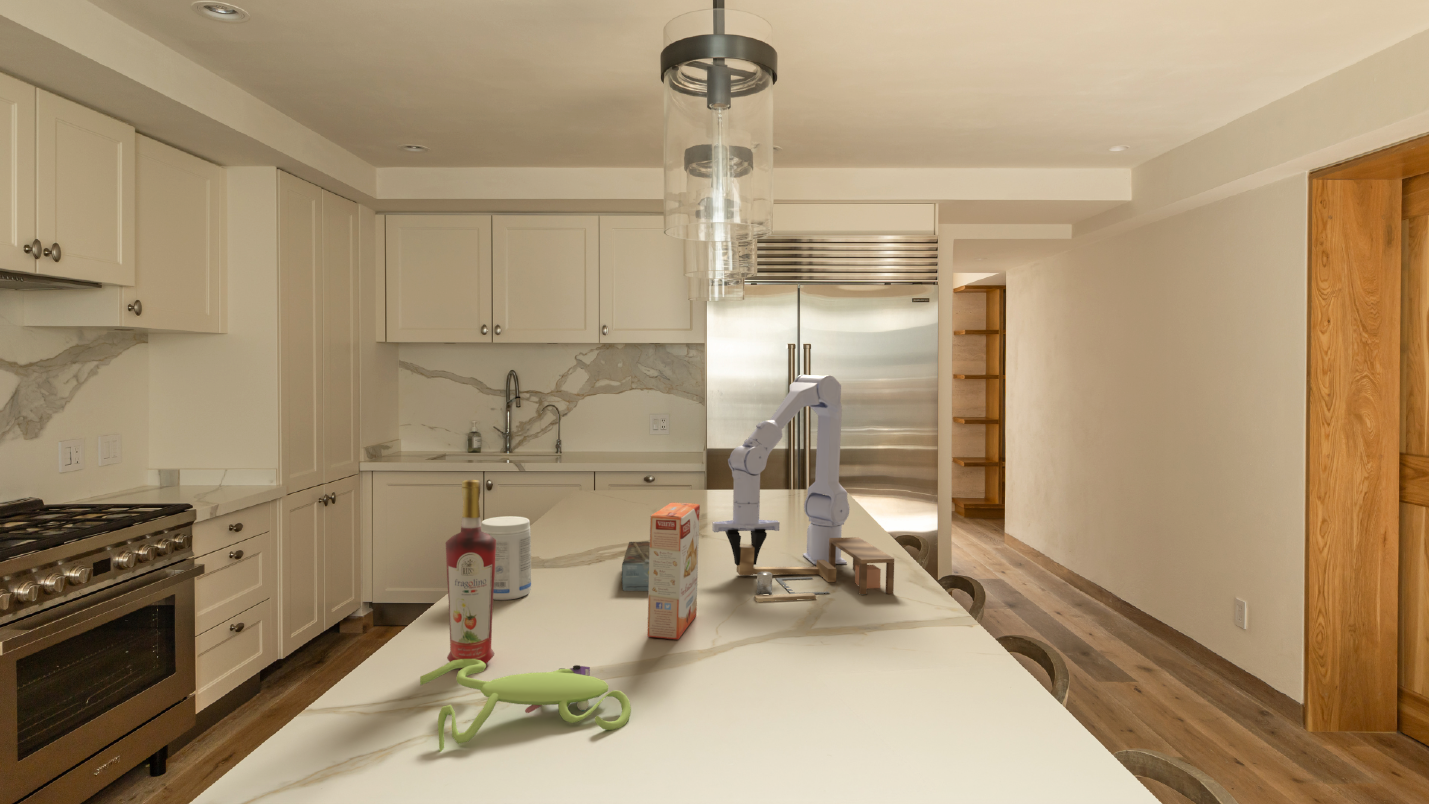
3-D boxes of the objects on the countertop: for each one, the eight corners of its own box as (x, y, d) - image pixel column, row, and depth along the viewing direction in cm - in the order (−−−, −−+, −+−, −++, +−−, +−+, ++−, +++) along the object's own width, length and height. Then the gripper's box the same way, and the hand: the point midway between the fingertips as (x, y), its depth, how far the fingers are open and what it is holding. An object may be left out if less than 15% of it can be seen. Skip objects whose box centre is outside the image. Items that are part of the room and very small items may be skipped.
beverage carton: (620, 592, 165) (620, 559, 164) (627, 568, 184) (628, 539, 183) (659, 592, 165) (660, 560, 164) (663, 568, 184) (663, 539, 184)
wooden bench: (828, 569, 184) (829, 538, 184) (857, 568, 185) (858, 537, 185) (860, 594, 164) (861, 559, 164) (893, 593, 166) (894, 558, 165)
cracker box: (681, 641, 136) (682, 516, 135) (646, 638, 137) (647, 514, 136) (699, 615, 149) (701, 502, 148) (667, 613, 151) (669, 500, 149)
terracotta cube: (855, 583, 173) (855, 565, 173) (872, 583, 174) (873, 564, 174) (862, 589, 169) (862, 569, 169) (880, 588, 170) (880, 569, 170)
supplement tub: (518, 584, 168) (518, 513, 167) (539, 595, 160) (540, 521, 160) (472, 592, 161) (472, 519, 161) (493, 604, 154) (493, 527, 153)
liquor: (444, 675, 120) (444, 485, 118) (446, 657, 127) (446, 478, 125) (496, 671, 122) (496, 484, 120) (495, 653, 129) (496, 477, 127)
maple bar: (754, 601, 160) (754, 595, 160) (812, 598, 163) (812, 592, 163) (757, 604, 159) (757, 598, 158) (815, 601, 161) (815, 595, 161)
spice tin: (755, 591, 166) (755, 571, 166) (769, 590, 166) (770, 571, 166) (758, 595, 163) (759, 575, 163) (773, 595, 164) (773, 575, 163)
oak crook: (822, 571, 182) (824, 544, 182) (835, 582, 174) (837, 554, 174) (736, 571, 178) (737, 544, 178) (745, 582, 170) (746, 553, 170)
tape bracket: (775, 579, 175) (775, 578, 175) (811, 577, 177) (811, 576, 177) (791, 595, 163) (791, 594, 163) (829, 593, 165) (829, 592, 165)
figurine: (421, 696, 113) (421, 656, 113) (613, 677, 121) (613, 640, 121) (412, 758, 96) (412, 712, 95) (636, 732, 103) (637, 688, 103)
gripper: (717, 505, 171) (716, 569, 172) (783, 504, 174) (782, 567, 175) (710, 499, 178) (709, 561, 179) (775, 498, 181) (773, 559, 182)
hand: (745, 563), depth 177 cm, fingers closed on oak crook, 3 cm apart
